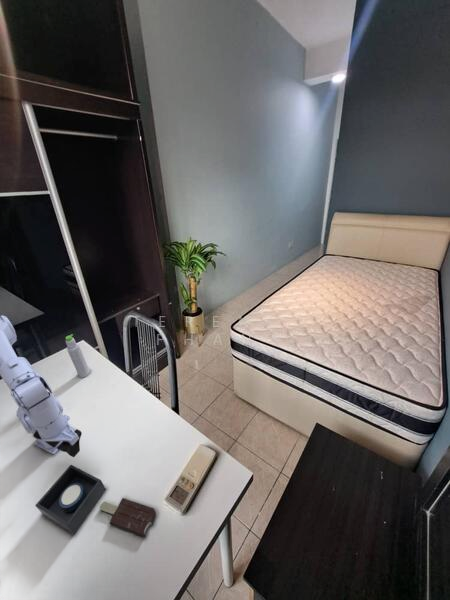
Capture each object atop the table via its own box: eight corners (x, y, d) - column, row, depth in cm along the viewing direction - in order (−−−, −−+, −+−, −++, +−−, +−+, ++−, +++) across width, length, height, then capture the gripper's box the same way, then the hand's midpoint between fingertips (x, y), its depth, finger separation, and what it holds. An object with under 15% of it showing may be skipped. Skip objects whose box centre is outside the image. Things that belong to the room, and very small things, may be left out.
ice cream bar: (94, 519, 62) (147, 538, 58) (92, 516, 61) (146, 535, 58) (108, 495, 66) (158, 511, 63) (106, 492, 66) (157, 508, 62)
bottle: (91, 373, 107) (76, 336, 97) (81, 379, 104) (64, 341, 94) (87, 368, 110) (72, 332, 100) (77, 374, 107) (60, 337, 97)
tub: (43, 514, 63) (35, 505, 61) (76, 473, 72) (70, 464, 69) (74, 535, 59) (66, 526, 57) (106, 489, 68) (100, 479, 65)
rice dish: (58, 507, 64) (53, 502, 63) (76, 484, 69) (72, 478, 67) (73, 517, 62) (69, 511, 61) (91, 493, 67) (87, 487, 65)
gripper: (81, 412, 63) (97, 444, 69) (43, 396, 68) (61, 427, 74) (55, 437, 57) (75, 469, 64) (16, 418, 62) (38, 449, 69)
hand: (66, 448), depth 69 cm, fingers open, 7 cm apart
